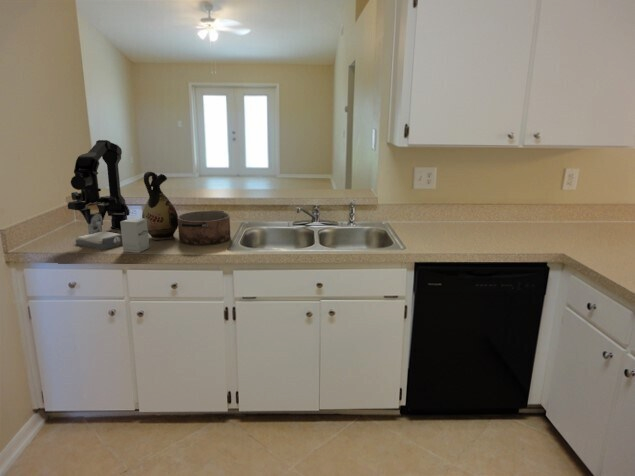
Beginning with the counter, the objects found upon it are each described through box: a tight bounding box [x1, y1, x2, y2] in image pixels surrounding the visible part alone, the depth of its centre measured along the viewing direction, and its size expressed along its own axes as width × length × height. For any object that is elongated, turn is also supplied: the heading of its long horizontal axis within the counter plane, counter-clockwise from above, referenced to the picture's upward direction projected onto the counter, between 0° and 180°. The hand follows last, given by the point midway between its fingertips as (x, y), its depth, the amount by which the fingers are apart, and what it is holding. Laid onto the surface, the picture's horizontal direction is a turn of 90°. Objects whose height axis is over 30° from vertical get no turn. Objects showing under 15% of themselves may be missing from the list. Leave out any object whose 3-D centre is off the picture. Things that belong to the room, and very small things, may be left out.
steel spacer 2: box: [87, 224, 103, 235], centre depth 191 cm, size 6×6×5 cm
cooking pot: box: [177, 210, 231, 247], centre depth 188 cm, size 30×22×11 cm
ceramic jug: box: [141, 171, 179, 241], centre depth 185 cm, size 17×15×30 cm
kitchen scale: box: [75, 230, 123, 251], centre depth 179 cm, size 14×17×4 cm
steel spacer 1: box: [87, 211, 104, 227], centre depth 179 cm, size 6×6×5 cm
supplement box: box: [120, 217, 150, 254], centre depth 169 cm, size 7×7×13 cm
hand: (95, 222), depth 180 cm, fingers closed on steel spacer 1, 5 cm apart
